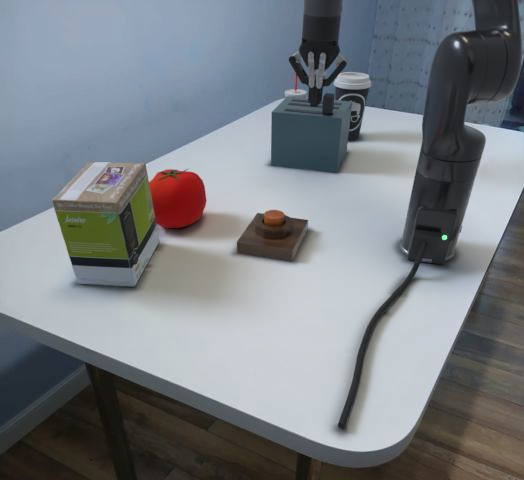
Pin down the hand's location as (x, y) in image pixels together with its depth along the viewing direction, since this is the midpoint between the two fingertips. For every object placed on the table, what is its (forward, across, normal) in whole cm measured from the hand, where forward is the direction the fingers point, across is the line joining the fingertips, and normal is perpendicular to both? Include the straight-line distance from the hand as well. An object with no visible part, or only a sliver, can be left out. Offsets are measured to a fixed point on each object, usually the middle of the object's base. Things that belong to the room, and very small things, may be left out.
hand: (314, 105), depth 110 cm
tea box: (+14, -21, -53) cm, 59 cm away
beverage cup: (+14, -11, +29) cm, 34 cm away
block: (+13, +2, -38) cm, 41 cm away
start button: (+10, +2, -38) cm, 40 cm away
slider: (+1, +3, 0) cm, 3 cm away
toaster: (+14, -1, +5) cm, 14 cm away
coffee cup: (+14, +5, +24) cm, 28 cm away
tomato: (+14, -18, -36) cm, 43 cm away
